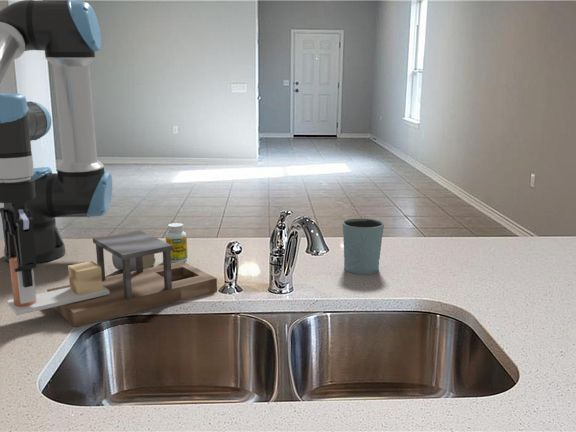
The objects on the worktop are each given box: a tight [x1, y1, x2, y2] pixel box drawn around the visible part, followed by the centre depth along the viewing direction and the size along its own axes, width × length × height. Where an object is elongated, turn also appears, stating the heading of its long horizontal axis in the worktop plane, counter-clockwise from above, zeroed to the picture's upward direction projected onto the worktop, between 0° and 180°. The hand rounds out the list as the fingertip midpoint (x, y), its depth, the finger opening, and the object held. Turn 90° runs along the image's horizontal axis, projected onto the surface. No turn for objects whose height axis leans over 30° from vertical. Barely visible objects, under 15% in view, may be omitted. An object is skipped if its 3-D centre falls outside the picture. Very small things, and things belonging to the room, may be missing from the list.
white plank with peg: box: [6, 256, 110, 316], centre depth 118 cm, size 7×18×10 cm, turn 129°
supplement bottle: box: [165, 222, 188, 263], centre depth 154 cm, size 5×5×10 cm
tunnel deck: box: [46, 230, 218, 328], centre depth 128 cm, size 16×32×12 cm, turn 129°
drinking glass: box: [342, 217, 385, 275], centre depth 147 cm, size 10×10×12 cm
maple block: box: [67, 260, 103, 295], centre depth 121 cm, size 5×5×5 cm
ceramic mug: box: [111, 253, 156, 272], centre depth 148 cm, size 11×8×8 cm
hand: (24, 297), depth 114 cm, fingers closed on white plank with peg, 4 cm apart
